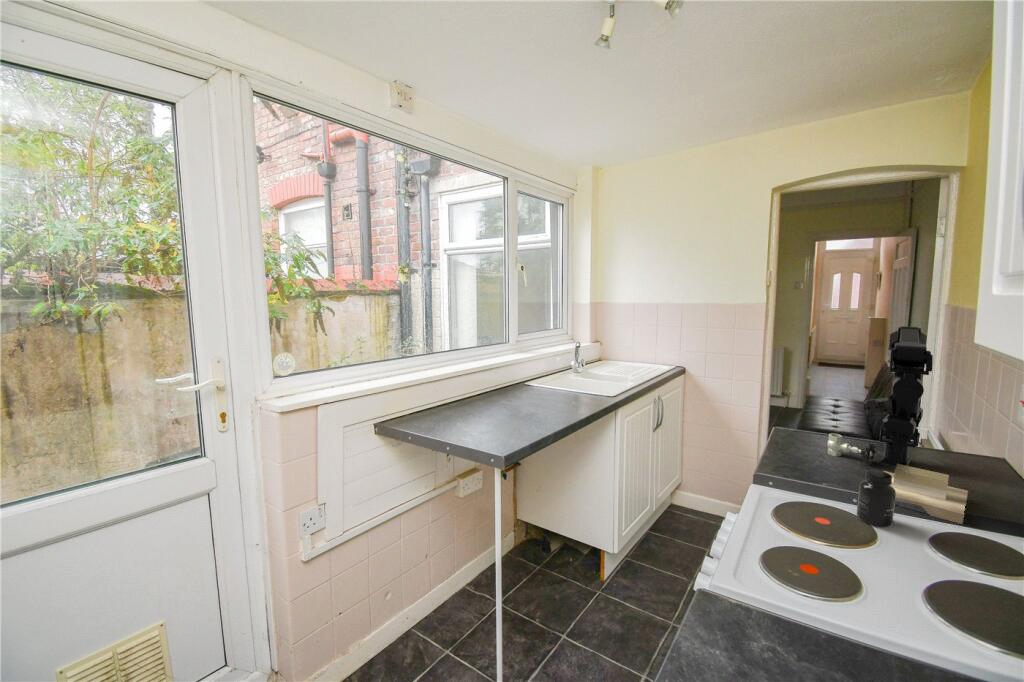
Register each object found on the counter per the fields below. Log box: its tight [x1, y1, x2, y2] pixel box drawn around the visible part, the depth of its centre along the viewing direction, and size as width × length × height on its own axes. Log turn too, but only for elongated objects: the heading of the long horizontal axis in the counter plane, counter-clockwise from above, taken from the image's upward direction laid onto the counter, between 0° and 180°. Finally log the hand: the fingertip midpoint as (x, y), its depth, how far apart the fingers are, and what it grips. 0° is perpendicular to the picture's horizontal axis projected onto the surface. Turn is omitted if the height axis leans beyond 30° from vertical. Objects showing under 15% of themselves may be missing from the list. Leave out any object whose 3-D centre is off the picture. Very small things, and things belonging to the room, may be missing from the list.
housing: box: [893, 464, 950, 500], centre depth 115 cm, size 10×5×5 cm, turn 43°
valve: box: [826, 432, 877, 465], centre depth 142 cm, size 7×7×12 cm
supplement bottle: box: [856, 469, 896, 528], centre depth 106 cm, size 7×7×12 cm
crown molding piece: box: [882, 470, 969, 525], centre depth 116 cm, size 16×17×2 cm
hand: (900, 447), depth 120 cm, fingers open, 9 cm apart
